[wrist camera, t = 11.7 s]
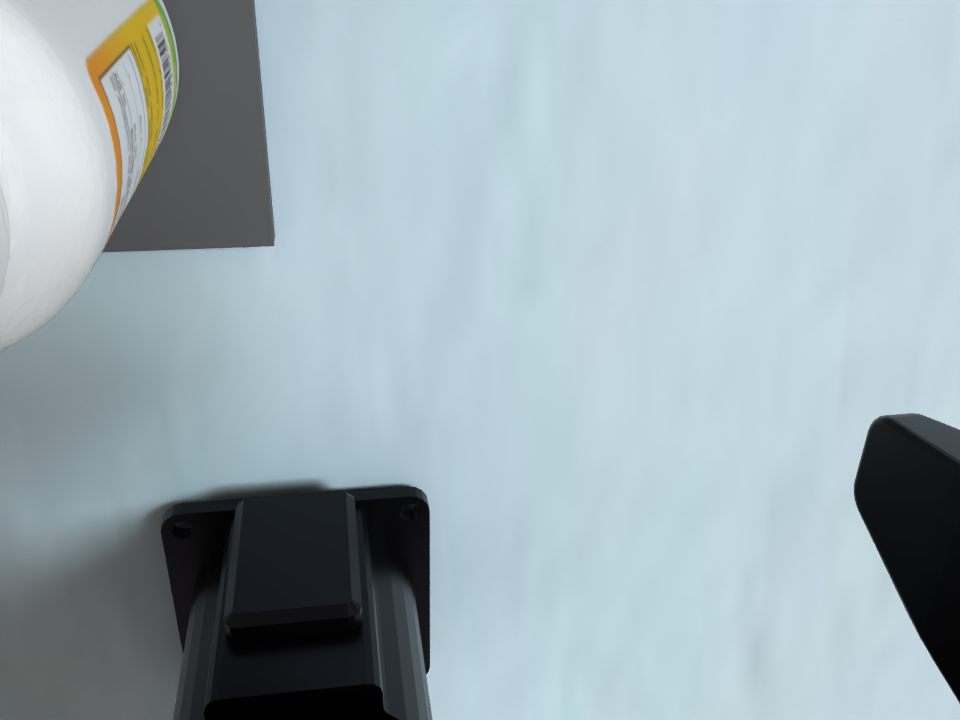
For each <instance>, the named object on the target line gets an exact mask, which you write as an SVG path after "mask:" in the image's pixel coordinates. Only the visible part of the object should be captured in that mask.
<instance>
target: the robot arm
mask: <svg viewBox="0 0 960 720" xmlns="http://www.w3.org/2000/svg"><path fill="white" fill-rule="evenodd" d="M854 496H855V502H856V505H857V508H858V511H859V513H860V515H861V517H862V519H863V521H864V523H865V525H866V527H867V529H868V531H869V534H870V536H871V538H872V540H873V542H874V544H875V546H876V548H877V550H878V552H879V554H880V557H881V559H882V561H883V563H884V565H885V567H886V569H887V571H888V573H889V575H890V577H891V579H892V582H893V584H894V586H895V588H896V590H897V592H898V594H899V596H900V598H901V600H902V602H903V605H904V607H905V609H906V611H907V613H908V615H909V617H910V619H911V621H912V623H913V625H914V627H915V629H916V630H917V632H918V634H919V636H920V638H921V640H922V641H923V643H924V645H925V647H926V648H927V650H928V652H929V654H930V655H931V657H932V659H933V660H934V662H935V664H936V665H937V667H938V669H939V670H940V672H941V674H942V675H943V677H944V678H945V680H946V682H947V683H948V685H949V687H950V688H951V690H952V691H953V693H954V695H955V696H956V698H957V700H958V701H959V703H960V430H959V429H956V428H954V427H951V426H949V425H946V424H944V423H941V422H939V421H936V420H934V419H931V418H929V417H926V416H924V415H920V414H914V413H910V414H897V415H885V416H880V417H878V418H877V419H875V420H874V421H873V423H872V424H871V425H870V428H869V430H868V434H867V437H866V441H865V445H864V449H863V452H862V456H861V460H860V463H859V467H858V471H857V475H856V478H855V483H854ZM408 504H413V505H416V507H415V508H414V509H412V510H409V511H407V510H403V509H401V508H402V507H403V506H405V505H408ZM180 522H185V523H188V524H190V525H191V526H192V527H189V528H180V527H178V526H176V525H175V524H176V523H180ZM161 535H162V540H163V546H164V551H165V557H166V562H167V568H168V573H169V579H170V584H171V590H172V595H173V601H174V606H175V612H176V617H177V623H178V628H179V634H180V639H181V645H182V650H183V660H182V666H181V673H180V679H179V685H178V692H177V698H176V704H175V711H174V717H173V720H432V714H431V707H430V700H429V693H428V686H427V678H426V674H427V673H428V671H429V668H430V511H429V505H428V500H427V496H426V494H425V493H424V492H423V491H422V490H420V489H418V488H416V487H397V488H384V489H371V490H358V491H335V492H322V493H308V494H295V495H282V496H269V497H256V498H246V499H239V500H226V501H213V502H200V503H187V504H179V505H175V506H173V507H171V508H170V509H168V510H167V511H166V513H165V515H164V517H163V522H162V527H161Z"/></svg>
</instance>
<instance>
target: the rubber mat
mask: <svg viewBox="0 0 960 720" xmlns="http://www.w3.org/2000/svg"><path fill="white" fill-rule="evenodd" d="M162 1H163V3H164V6H165V8H166V10H167V13H168V16H169V19H170V22H171V25H172V28H173V32H174V35H175V40H176V45H177V52H178V61H179V83H178V92H177V98H176V102H175V106H174V110H173V113H172V117H171V119H170V122H169V125H168V127H167V130H166V133H165V135H164V137H163V139H162V141H161V143H160V145H159V147H158V149H157V150H156V152H155V154H154V156H153V158H152V160H151V162H150V164H149V165H148V167H147V169H146V171H145V173H144V175H143V177H142V179H141V180H140V182H139V184H138V186H137V188H136V190H135V192H134V194H133V195H132V197H131V199H130V201H129V202H128V204H127V206H126V208H125V210H124V212H123V213H122V215H121V217H120V219H119V221H118V222H117V224H116V226H115V228H114V230H113V232H112V234H111V236H110V238H109V240H108V242H107V244H106V246H105V248H104V249H103V251H102V252H119V251H147V250H175V249H204V248H232V247H260V246H274V238H275V233H274V221H273V210H272V198H271V187H270V176H269V164H268V153H267V141H266V130H265V119H264V107H263V96H262V84H261V73H260V62H259V50H258V39H257V27H256V16H255V5H254V0H162Z"/></svg>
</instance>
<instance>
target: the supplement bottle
mask: <svg viewBox="0 0 960 720" xmlns="http://www.w3.org/2000/svg"><path fill="white" fill-rule="evenodd" d="M178 83H179V61H178V52H177V45H176V40H175V35H174V32H173V28H172V25H171V22H170V19H169V16H168V13H167V10H166V8H165V6H164V3H163V1H162V0H0V350H2V349H4V348H7V347H9V346H11V345H12V344H14V343H16V342H18V341H20V340H22V339H24V338H25V337H27V336H28V335H30V334H31V333H33V332H34V331H36V330H37V329H39V328H40V327H42V326H43V325H44V324H45V323H47V322H48V321H49V320H50V319H51V318H52V317H53V316H54V315H56V314H57V313H58V312H59V311H60V310H61V309H62V308H63V307H64V306H65V304H66V303H67V302H68V301H69V300H70V299H71V298H72V296H73V295H74V294H75V292H76V291H77V290H78V289H79V287H80V286H81V285H82V283H83V282H84V280H85V279H86V277H87V276H88V274H89V273H90V272H91V270H92V268H93V267H94V265H95V263H96V262H97V260H98V258H99V256H100V254H101V253H102V251H103V249H104V248H105V246H106V244H107V242H108V240H109V238H110V236H111V234H112V232H113V230H114V228H115V226H116V224H117V222H118V221H119V219H120V217H121V215H122V213H123V212H124V210H125V208H126V206H127V204H128V202H129V201H130V199H131V197H132V195H133V194H134V192H135V190H136V188H137V186H138V184H139V182H140V180H141V179H142V177H143V175H144V173H145V171H146V169H147V167H148V165H149V164H150V162H151V160H152V158H153V156H154V154H155V152H156V150H157V149H158V147H159V145H160V143H161V141H162V139H163V137H164V135H165V133H166V130H167V127H168V125H169V122H170V119H171V117H172V113H173V110H174V106H175V102H176V98H177V92H178Z"/></svg>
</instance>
